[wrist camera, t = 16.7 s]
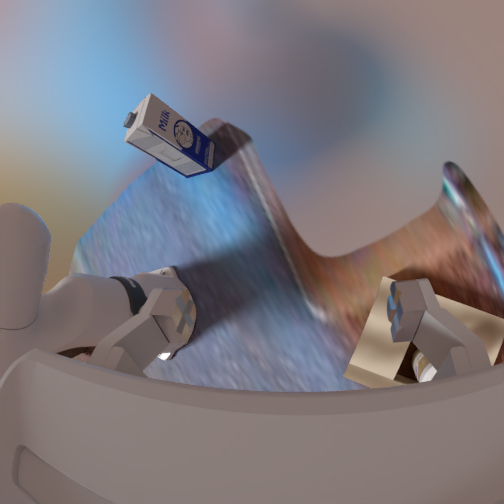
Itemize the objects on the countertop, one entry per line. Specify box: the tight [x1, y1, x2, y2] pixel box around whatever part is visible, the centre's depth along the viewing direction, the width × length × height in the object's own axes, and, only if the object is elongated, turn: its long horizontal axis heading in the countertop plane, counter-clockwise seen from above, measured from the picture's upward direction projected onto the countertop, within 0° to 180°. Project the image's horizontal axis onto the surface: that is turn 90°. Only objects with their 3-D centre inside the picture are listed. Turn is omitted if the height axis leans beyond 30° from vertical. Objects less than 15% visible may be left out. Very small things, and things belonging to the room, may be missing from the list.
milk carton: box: [124, 93, 215, 178], centre depth 48 cm, size 7×7×20 cm
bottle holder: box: [343, 276, 504, 389], centre depth 30 cm, size 14×20×4 cm
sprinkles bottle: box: [411, 348, 437, 383], centre depth 26 cm, size 5×5×13 cm
